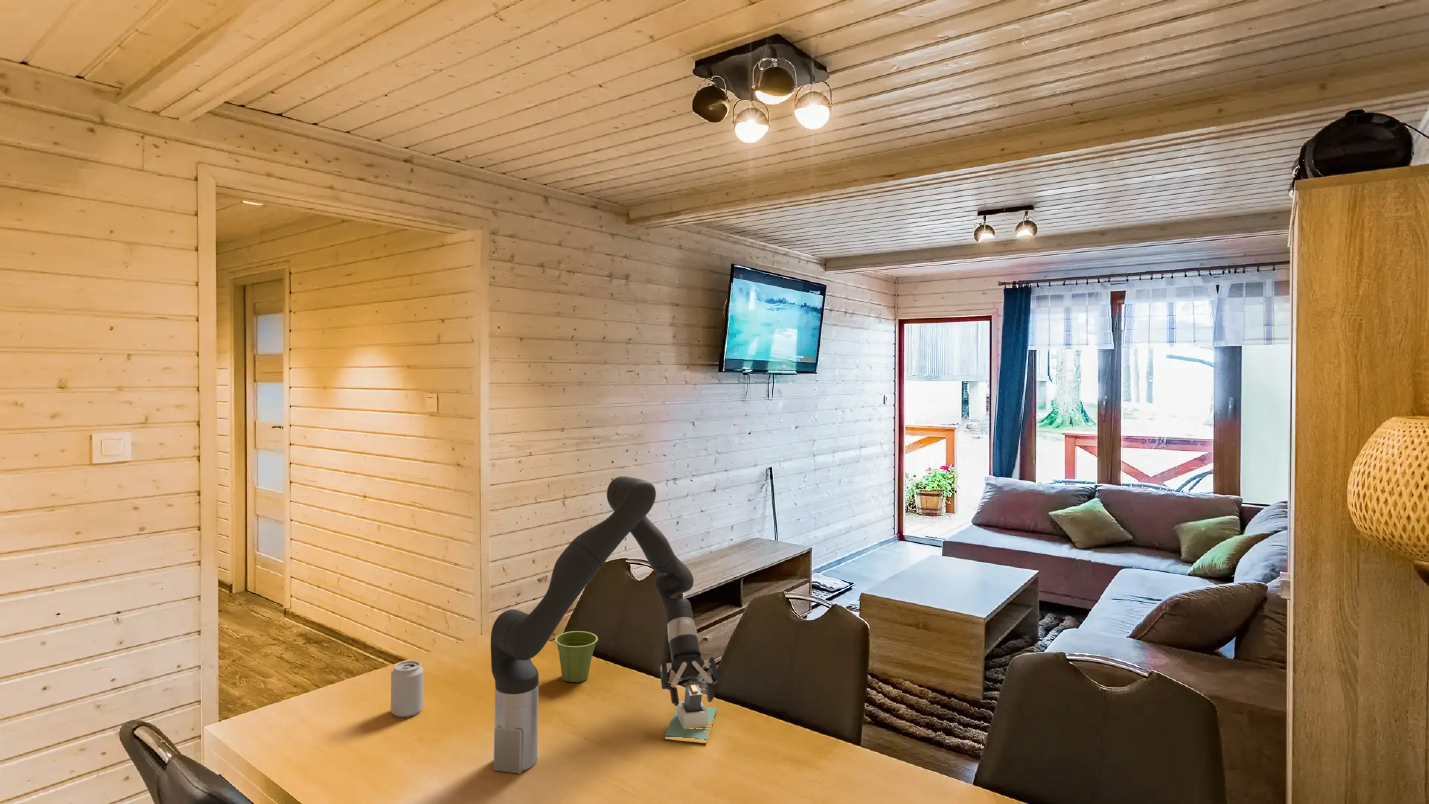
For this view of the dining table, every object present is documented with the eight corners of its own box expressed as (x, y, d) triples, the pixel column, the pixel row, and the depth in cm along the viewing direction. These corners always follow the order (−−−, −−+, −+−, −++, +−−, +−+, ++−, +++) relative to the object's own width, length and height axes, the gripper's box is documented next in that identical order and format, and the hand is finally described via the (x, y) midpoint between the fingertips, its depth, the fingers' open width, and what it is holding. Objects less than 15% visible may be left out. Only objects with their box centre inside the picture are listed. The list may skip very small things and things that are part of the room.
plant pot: (574, 691, 196) (574, 650, 196) (545, 678, 204) (545, 639, 203) (605, 676, 206) (606, 637, 205) (577, 665, 213) (577, 627, 212)
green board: (706, 744, 171) (706, 739, 170) (664, 739, 172) (664, 734, 172) (716, 712, 186) (717, 708, 186) (678, 708, 188) (678, 704, 188)
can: (428, 706, 186) (429, 659, 185) (413, 720, 178) (414, 671, 178) (400, 703, 186) (401, 657, 186) (384, 717, 179) (384, 669, 178)
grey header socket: (707, 726, 177) (708, 712, 176) (683, 729, 175) (684, 715, 175) (699, 712, 183) (700, 699, 183) (676, 715, 182) (677, 701, 181)
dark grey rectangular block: (699, 722, 178) (702, 692, 176) (687, 723, 178) (690, 693, 175) (694, 711, 182) (697, 682, 180) (683, 713, 181) (686, 683, 179)
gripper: (658, 635, 183) (668, 700, 173) (713, 630, 187) (725, 693, 177) (653, 648, 189) (662, 711, 178) (706, 643, 193) (718, 705, 182)
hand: (693, 702), depth 178 cm, fingers open, 8 cm apart
